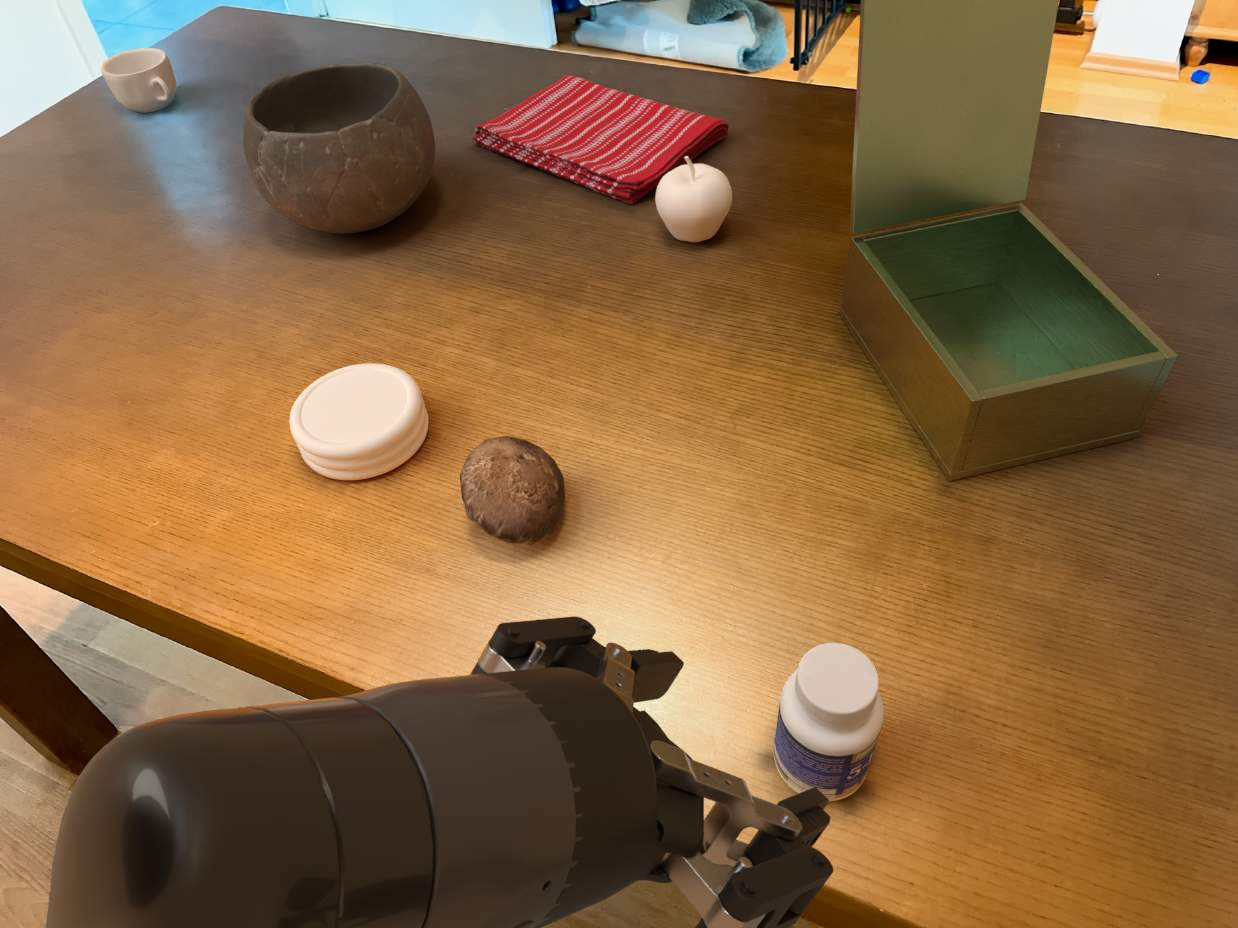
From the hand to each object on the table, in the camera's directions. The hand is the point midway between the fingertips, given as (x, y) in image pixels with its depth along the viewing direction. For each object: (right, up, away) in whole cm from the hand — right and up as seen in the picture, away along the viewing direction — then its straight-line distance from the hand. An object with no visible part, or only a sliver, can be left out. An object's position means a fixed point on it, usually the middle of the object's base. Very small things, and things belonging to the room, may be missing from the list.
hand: (735, 738), depth 40 cm
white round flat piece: (-25, +14, +32) cm, 43 cm away
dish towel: (-7, +47, +61) cm, 77 cm away
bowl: (-31, +38, +54) cm, 73 cm away
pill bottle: (+6, -5, +12) cm, 14 cm away
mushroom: (-12, +8, +25) cm, 29 cm away
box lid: (+19, +39, +26) cm, 51 cm away
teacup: (-62, +56, +75) cm, 112 cm away
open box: (+23, +19, +32) cm, 44 cm away
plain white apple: (+2, +34, +48) cm, 59 cm away
